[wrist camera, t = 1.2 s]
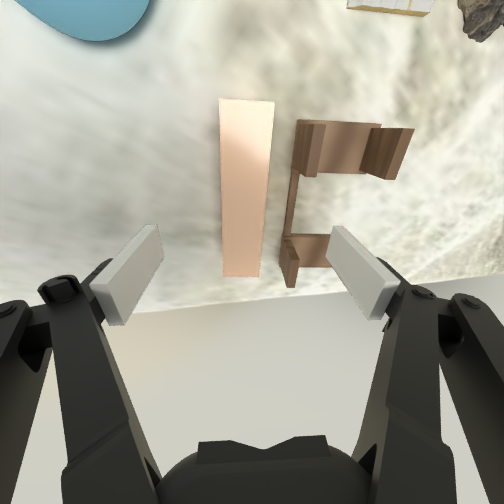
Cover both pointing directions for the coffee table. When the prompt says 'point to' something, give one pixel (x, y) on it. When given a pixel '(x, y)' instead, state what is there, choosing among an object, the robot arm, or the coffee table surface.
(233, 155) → the peach rectangular block
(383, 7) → the baseboard
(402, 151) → the rack
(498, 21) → the dark grey rock
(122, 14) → the sugar bowl
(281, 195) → the coffee table surface
